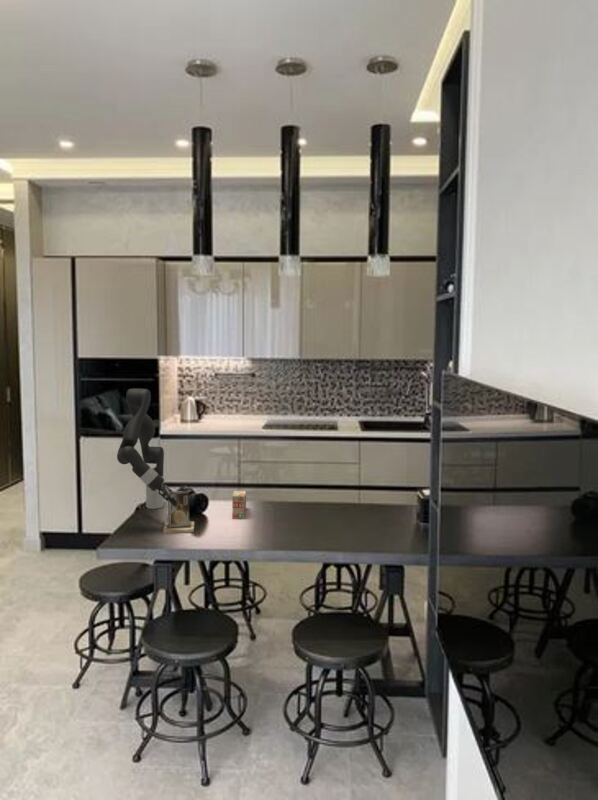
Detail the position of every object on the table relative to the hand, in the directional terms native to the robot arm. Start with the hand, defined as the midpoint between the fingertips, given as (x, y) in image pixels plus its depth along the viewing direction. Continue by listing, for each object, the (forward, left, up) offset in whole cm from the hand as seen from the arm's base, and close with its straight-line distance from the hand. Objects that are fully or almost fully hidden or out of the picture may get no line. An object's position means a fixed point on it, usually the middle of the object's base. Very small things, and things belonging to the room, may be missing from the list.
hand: (176, 502), depth 294 cm
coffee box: (0, +1, -11) cm, 11 cm away
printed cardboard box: (-25, +31, -13) cm, 42 cm away
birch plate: (0, +1, -13) cm, 13 cm away
